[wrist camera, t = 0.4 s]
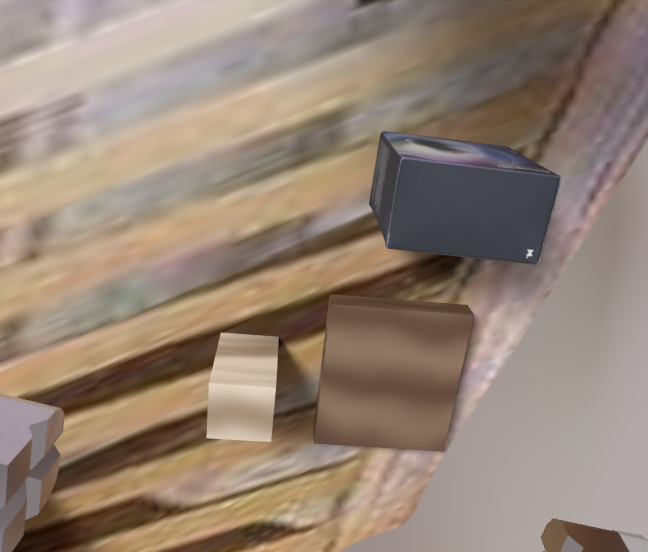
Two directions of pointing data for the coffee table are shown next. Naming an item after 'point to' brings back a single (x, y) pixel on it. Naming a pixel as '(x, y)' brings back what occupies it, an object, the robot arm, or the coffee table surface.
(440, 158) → the small box
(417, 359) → the walnut board
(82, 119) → the coffee table surface
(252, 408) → the birch block
